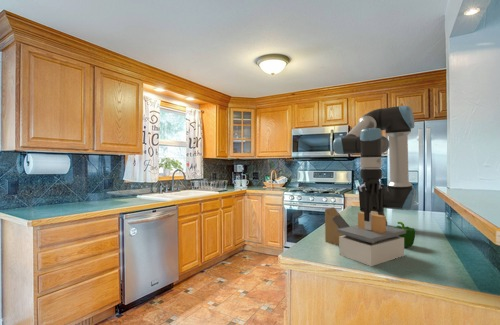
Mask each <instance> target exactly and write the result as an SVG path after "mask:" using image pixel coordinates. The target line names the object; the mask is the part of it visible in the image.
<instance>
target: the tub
mask: <svg viewBox="0 0 500 325" xmlns="http://www.w3.org/2000/svg"><path fill="white" fill-rule="evenodd" d="M338 252H339V253H338V255H339V256H343V257H345V258H348V259H351V260H353V261H355V262H358V263H361V264H365V265H367V266H369V267H373V266H376V265H377V266H378V265H380V264H382V263H385V262H389V261H391V260H392V261H393V260H395V258H396V259H399V258H401V256H402V257H404V256H405V247H404V237H400V236H395V237H391V238H387V239H383V240H379V241H376V242H372V243H369V242H366V241H362V240H359V239H355V238H352V237H349V236H345V235H344V236H340V237H339V245H338ZM398 257H399V258H398Z"/></svg>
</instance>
